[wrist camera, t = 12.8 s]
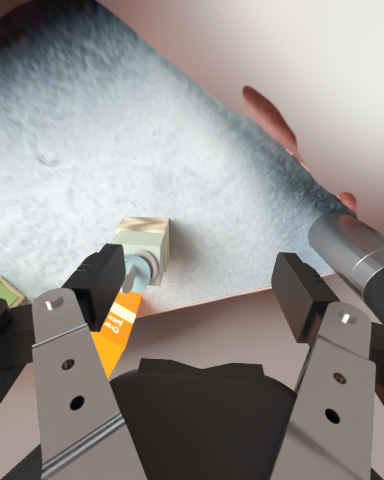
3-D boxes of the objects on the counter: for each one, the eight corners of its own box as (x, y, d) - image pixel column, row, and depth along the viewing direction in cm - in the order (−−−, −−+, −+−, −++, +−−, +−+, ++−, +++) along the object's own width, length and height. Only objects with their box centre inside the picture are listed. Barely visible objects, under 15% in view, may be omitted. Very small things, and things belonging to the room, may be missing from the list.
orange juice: (111, 277, 52) (66, 355, 34) (142, 296, 55) (115, 378, 37) (95, 296, 55) (46, 377, 37) (125, 313, 58) (93, 397, 40)
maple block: (169, 218, 45) (165, 230, 40) (169, 255, 49) (166, 271, 44) (125, 216, 45) (115, 228, 40) (129, 254, 49) (121, 269, 44)
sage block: (164, 233, 40) (160, 246, 36) (163, 269, 44) (159, 285, 39) (120, 230, 40) (110, 242, 36) (123, 266, 44) (114, 282, 39)
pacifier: (154, 245, 36) (118, 248, 36) (148, 267, 30) (105, 270, 30) (161, 281, 39) (127, 284, 39) (156, 307, 34) (117, 310, 34)
